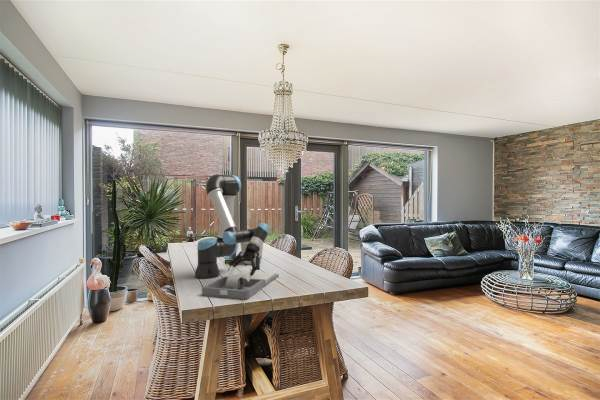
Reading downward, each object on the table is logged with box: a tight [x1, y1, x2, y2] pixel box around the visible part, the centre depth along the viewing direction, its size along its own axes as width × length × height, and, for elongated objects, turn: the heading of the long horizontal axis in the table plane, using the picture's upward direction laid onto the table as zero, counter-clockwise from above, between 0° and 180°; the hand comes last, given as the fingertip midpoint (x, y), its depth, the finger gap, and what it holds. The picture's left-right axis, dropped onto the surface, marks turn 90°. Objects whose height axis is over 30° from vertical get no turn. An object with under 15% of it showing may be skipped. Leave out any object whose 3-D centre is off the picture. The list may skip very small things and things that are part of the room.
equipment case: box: [201, 270, 280, 300], centre depth 185 cm, size 25×47×4 cm, turn 164°
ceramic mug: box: [224, 276, 245, 290], centre depth 173 cm, size 11×8×8 cm
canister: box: [240, 242, 264, 266], centre depth 244 cm, size 18×18×21 cm
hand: (237, 278), depth 173 cm, fingers open, 13 cm apart
